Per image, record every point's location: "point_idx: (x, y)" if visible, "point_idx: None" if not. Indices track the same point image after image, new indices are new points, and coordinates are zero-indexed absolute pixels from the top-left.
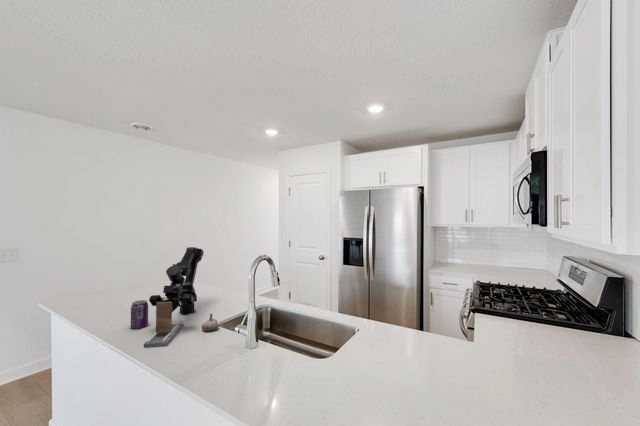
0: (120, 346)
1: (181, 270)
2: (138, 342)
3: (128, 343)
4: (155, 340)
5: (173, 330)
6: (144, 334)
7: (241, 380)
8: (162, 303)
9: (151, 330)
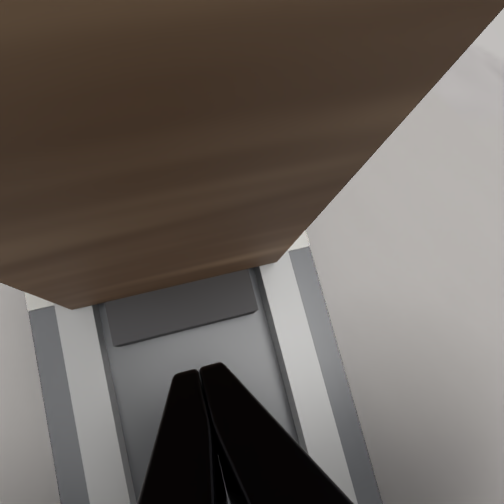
0: (485, 65)
1: None
2: (384, 150)
3: (465, 124)
4: None
5: (61, 343)
6: (480, 343)
7: None
8: None
9: (490, 469)
